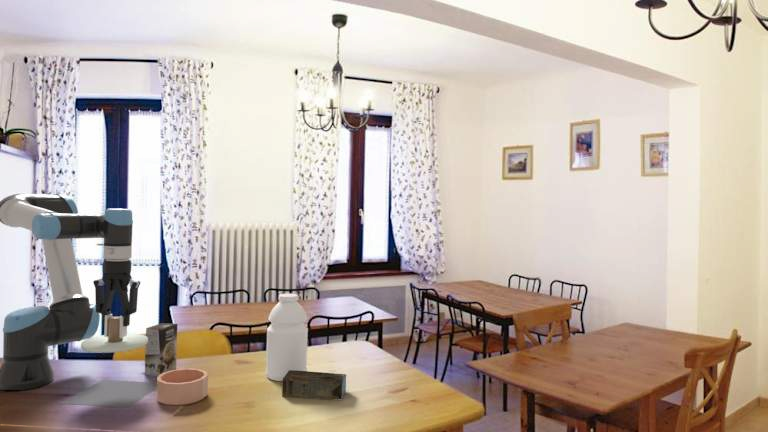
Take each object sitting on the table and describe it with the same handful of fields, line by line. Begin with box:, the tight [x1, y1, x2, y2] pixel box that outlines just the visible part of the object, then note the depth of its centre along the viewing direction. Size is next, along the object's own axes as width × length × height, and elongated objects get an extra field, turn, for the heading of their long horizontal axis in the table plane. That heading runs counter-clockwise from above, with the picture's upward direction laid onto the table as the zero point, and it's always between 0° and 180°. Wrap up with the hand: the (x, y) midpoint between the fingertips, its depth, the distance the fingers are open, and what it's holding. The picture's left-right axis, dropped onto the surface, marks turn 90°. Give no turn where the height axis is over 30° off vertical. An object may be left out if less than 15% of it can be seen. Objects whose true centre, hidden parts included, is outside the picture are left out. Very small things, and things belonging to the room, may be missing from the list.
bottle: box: [265, 293, 309, 382], centre depth 177 cm, size 14×14×28 cm
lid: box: [80, 316, 148, 354], centre depth 155 cm, size 18×18×8 cm
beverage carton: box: [281, 370, 347, 400], centre depth 160 cm, size 8×19×7 cm, turn 86°
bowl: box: [156, 367, 209, 406], centre depth 154 cm, size 14×14×6 cm
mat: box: [60, 379, 157, 408], centre depth 155 cm, size 20×20×1 cm
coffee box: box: [144, 322, 178, 377], centre depth 176 cm, size 9×6×16 cm
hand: (115, 336), depth 155 cm, fingers closed on lid, 4 cm apart
